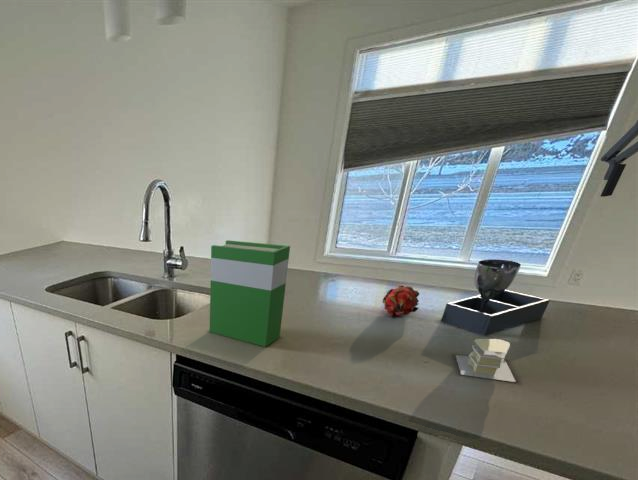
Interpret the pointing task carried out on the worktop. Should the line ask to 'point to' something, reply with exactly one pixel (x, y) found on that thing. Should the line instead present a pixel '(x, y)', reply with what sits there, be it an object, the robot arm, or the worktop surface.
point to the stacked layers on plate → (486, 360)
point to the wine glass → (494, 278)
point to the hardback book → (248, 290)
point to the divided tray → (494, 312)
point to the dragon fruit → (401, 301)
